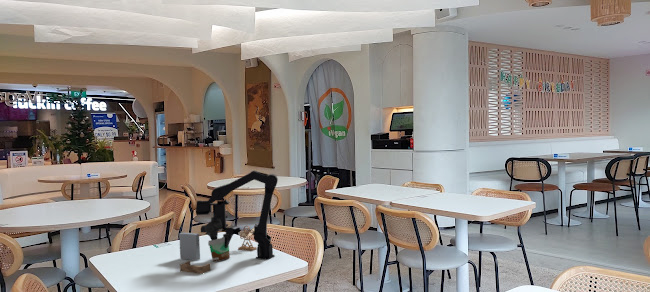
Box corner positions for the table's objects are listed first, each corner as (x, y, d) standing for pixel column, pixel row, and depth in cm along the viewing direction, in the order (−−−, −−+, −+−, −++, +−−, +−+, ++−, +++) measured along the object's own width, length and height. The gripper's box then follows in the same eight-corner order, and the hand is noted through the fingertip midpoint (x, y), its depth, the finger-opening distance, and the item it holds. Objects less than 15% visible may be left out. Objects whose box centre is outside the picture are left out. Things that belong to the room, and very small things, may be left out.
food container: (221, 261, 208) (218, 240, 208) (210, 262, 211) (207, 240, 211) (237, 254, 219) (234, 234, 219) (227, 255, 222) (223, 234, 222)
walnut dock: (210, 270, 198) (210, 263, 198) (202, 274, 193) (201, 267, 193) (188, 267, 203) (188, 261, 203) (180, 271, 198) (179, 264, 198)
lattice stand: (238, 249, 232) (237, 226, 232) (242, 247, 236) (241, 224, 236) (252, 251, 229) (251, 227, 228) (257, 249, 232) (256, 225, 232)
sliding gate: (200, 259, 216) (199, 233, 216) (196, 260, 214) (195, 234, 214) (183, 257, 220) (182, 232, 220) (180, 258, 218) (179, 233, 218)
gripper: (191, 216, 210) (193, 250, 211) (225, 218, 203) (226, 253, 203) (207, 212, 221) (209, 244, 221) (239, 213, 213) (241, 247, 213)
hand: (220, 247), depth 214 cm, fingers closed on food container, 6 cm apart
